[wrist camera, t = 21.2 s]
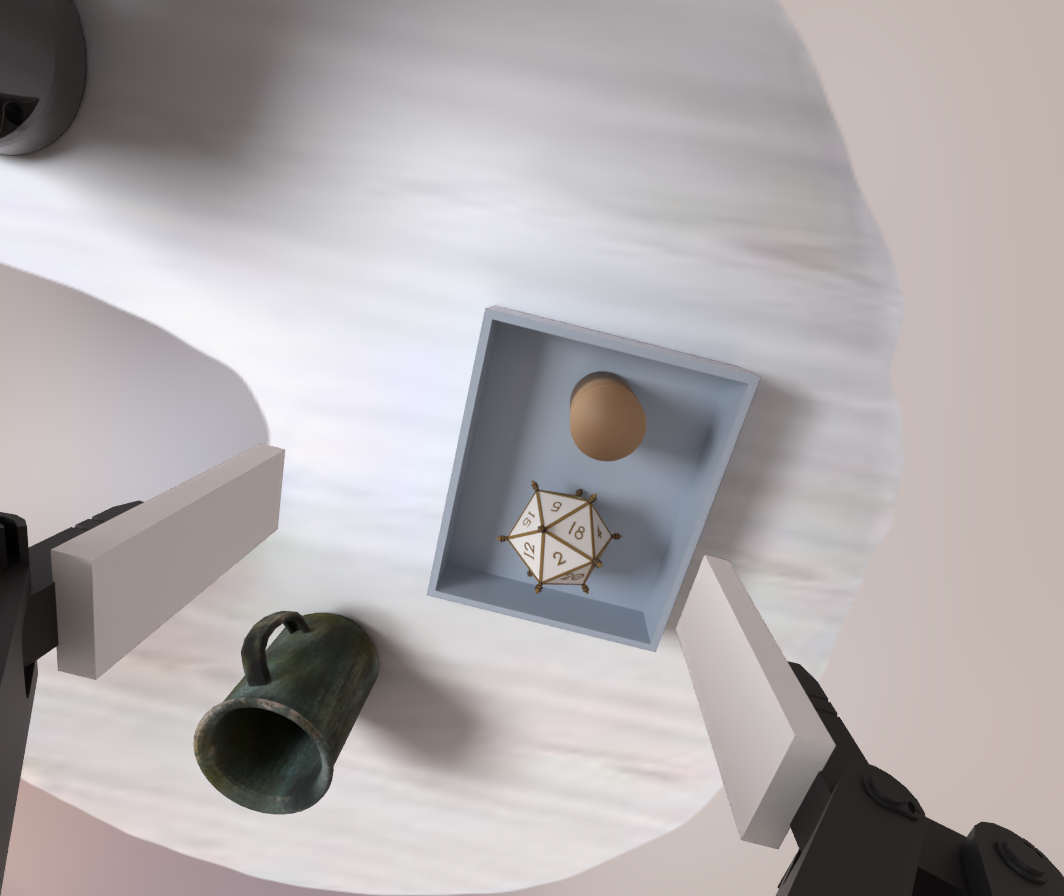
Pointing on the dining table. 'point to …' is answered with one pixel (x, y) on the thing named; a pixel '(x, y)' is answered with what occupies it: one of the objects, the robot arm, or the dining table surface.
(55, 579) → the robot arm
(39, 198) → the dining table surface
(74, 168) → the dining table surface
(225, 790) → the mug
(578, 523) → the game die
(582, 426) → the walnut cylinder
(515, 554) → the tote
